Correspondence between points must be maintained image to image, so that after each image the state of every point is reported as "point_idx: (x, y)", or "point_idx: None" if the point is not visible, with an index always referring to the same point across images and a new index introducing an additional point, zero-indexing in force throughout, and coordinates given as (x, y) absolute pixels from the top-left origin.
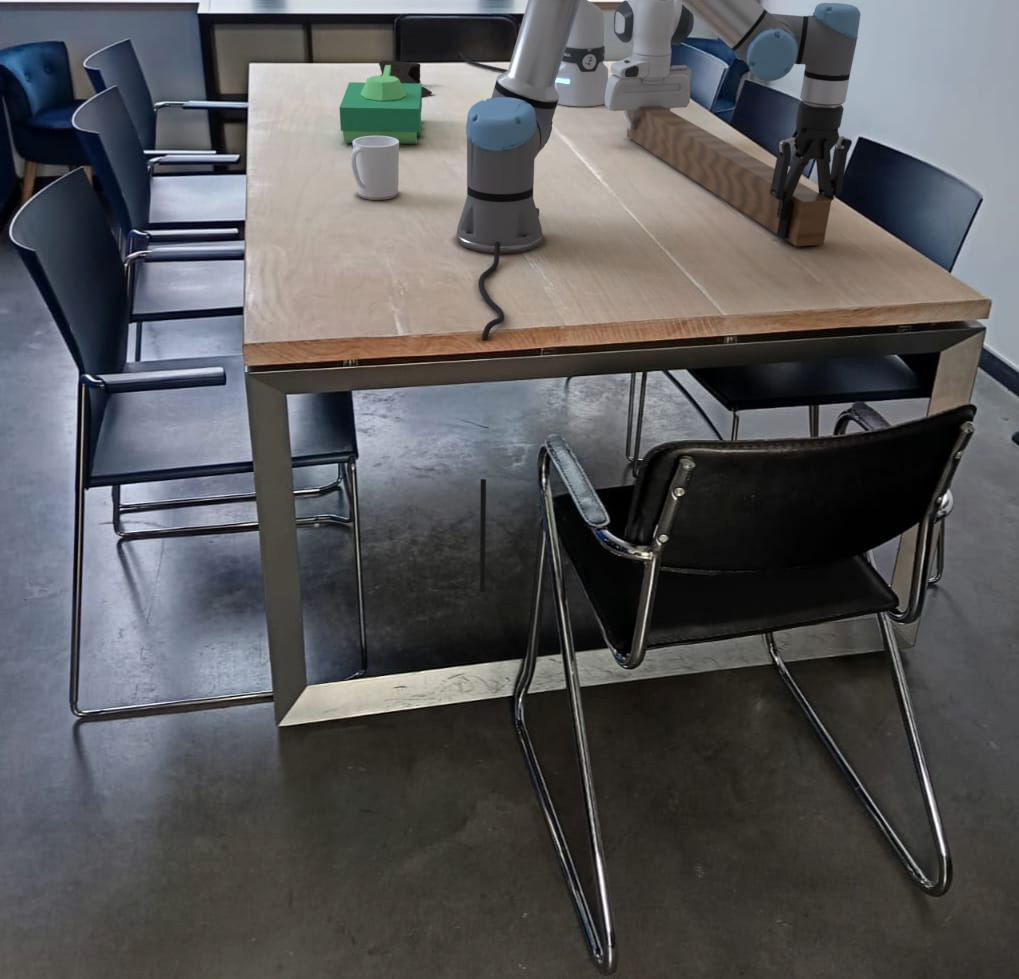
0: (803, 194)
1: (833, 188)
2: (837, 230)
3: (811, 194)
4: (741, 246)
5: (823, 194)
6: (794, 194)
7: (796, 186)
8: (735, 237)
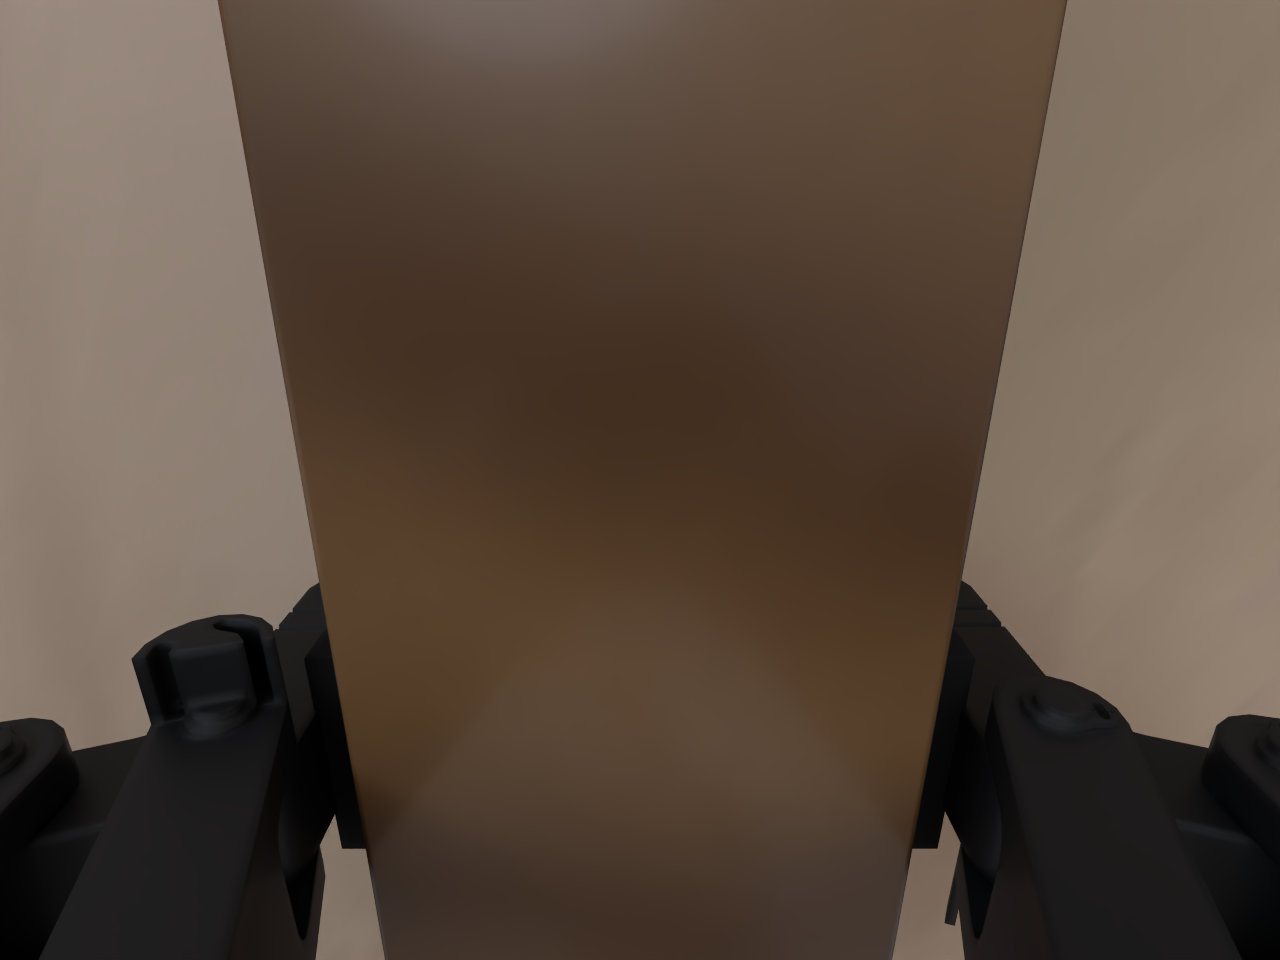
0: (596, 839)
1: (1238, 914)
2: (1197, 322)
3: (735, 864)
4: (107, 506)
5: (981, 838)
6: (429, 817)
7: (751, 372)
8: (105, 275)
